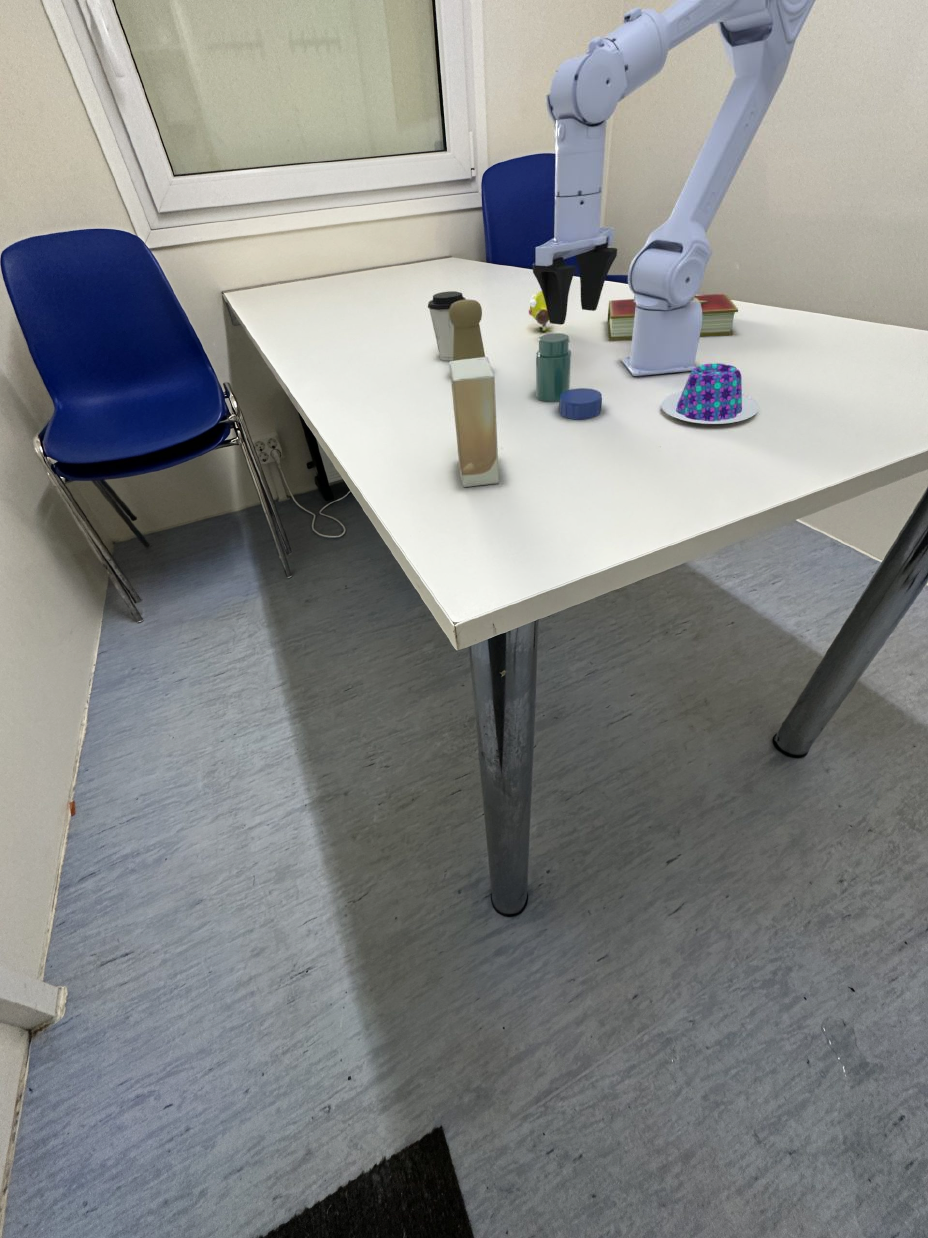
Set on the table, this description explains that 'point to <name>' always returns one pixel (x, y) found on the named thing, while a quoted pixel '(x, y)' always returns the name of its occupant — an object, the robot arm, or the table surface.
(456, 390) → the cosmetic box
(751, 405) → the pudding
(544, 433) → the table surface
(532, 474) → the table surface
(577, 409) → the lid
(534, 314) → the toy figure
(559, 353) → the jar
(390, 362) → the table surface
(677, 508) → the table surface
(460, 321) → the cork
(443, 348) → the coffee cup
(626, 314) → the hardcover book
